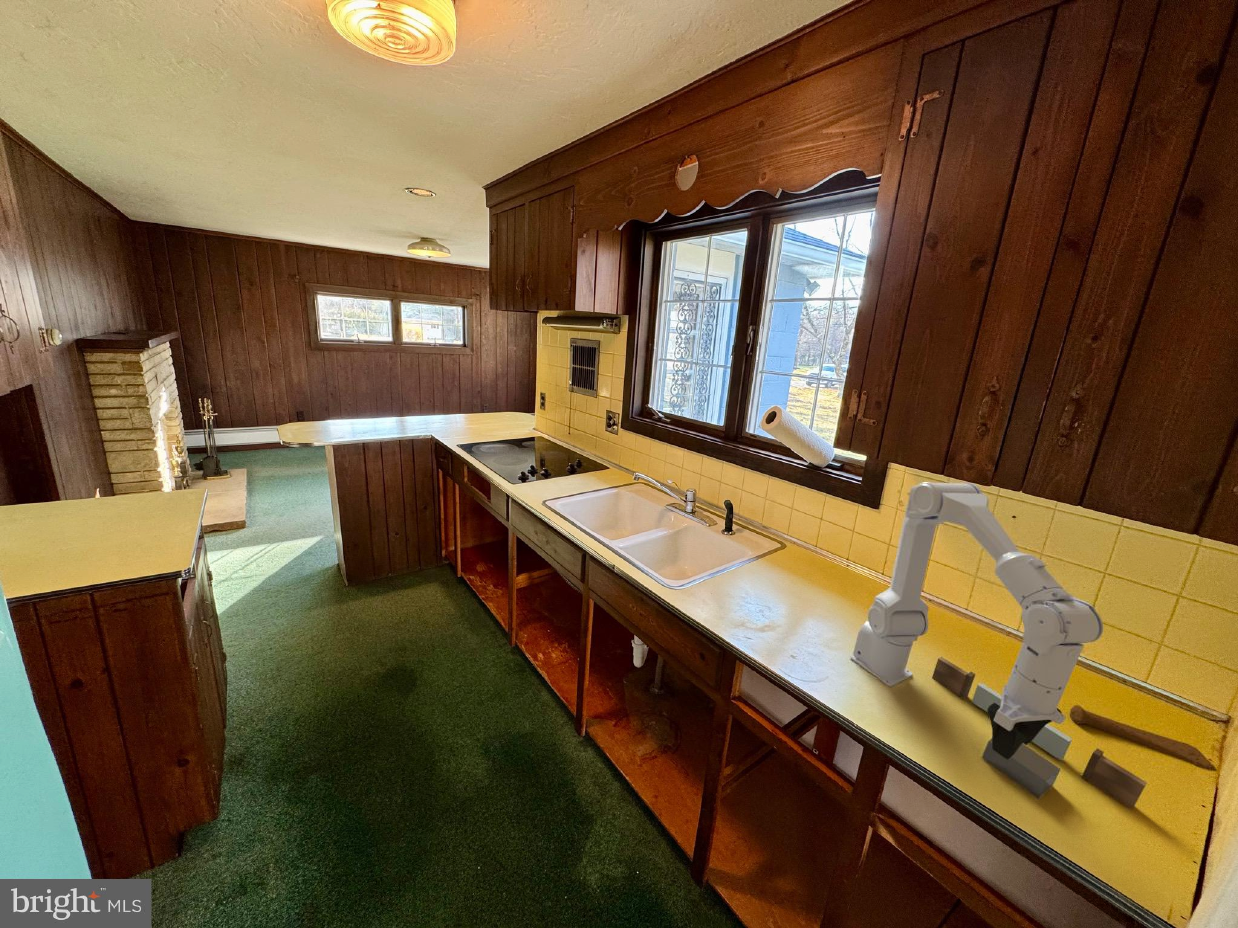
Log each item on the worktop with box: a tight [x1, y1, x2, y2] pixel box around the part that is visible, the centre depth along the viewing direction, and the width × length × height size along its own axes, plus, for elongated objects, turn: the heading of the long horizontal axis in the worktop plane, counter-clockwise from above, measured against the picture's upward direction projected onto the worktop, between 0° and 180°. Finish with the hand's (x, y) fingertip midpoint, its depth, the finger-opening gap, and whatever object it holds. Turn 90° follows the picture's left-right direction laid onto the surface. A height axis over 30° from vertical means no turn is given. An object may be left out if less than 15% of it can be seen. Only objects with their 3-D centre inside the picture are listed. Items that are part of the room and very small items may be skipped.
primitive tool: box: [1069, 704, 1217, 771], centre depth 85 cm, size 19×6×4 cm, turn 68°
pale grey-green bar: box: [971, 682, 1073, 761], centre depth 85 cm, size 14×2×4 cm, turn 28°
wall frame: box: [931, 656, 1148, 810], centre depth 84 cm, size 30×2×6 cm, turn 28°
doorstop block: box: [981, 738, 1061, 800], centre depth 77 cm, size 8×5×4 cm, turn 28°
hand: (1010, 746), depth 71 cm, fingers open, 5 cm apart
